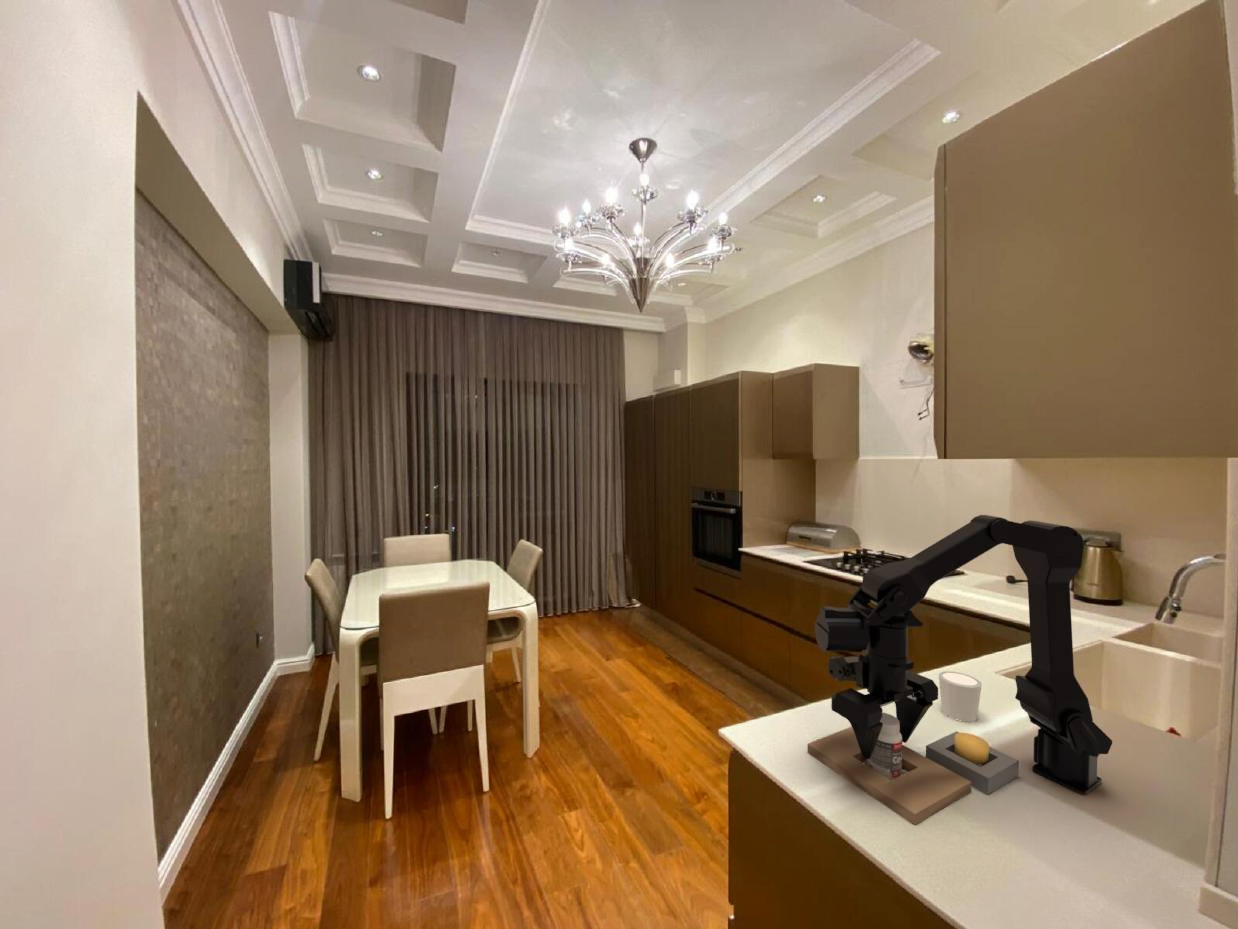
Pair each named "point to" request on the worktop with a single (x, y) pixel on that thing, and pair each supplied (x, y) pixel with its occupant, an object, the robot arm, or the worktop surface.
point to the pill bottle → (888, 749)
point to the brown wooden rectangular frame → (906, 794)
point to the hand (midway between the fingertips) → (884, 749)
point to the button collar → (974, 765)
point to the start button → (972, 748)
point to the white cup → (959, 695)
